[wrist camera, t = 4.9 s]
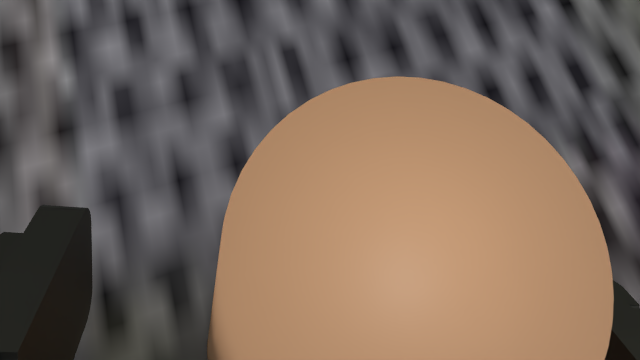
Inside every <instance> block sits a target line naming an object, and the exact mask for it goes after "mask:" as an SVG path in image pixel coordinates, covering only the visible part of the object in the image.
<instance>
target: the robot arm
mask: <svg viewBox="0 0 640 360" xmlns="http://www.w3.org/2000/svg"><path fill="white" fill-rule="evenodd" d="M613 293H614V303H613V323H612V329H611V335H610V341H609V347H608V350H607V354H606V357H605V360H640V308H639V304H638V303H637V302H636V301H635V300H634V299H633V298H632V297H631V295H630V294H629V293H628V292H627V291H626V290H625V289H624V288H623V287H622V286H621V285H619V284H618V283H616V282H615V281H613ZM91 297H92V240H91V215H90V211H89V209H88V208H78V207H64V206H50V205H41V206H40V207H39V209H38V210H37V212H36V213H35V215H34V217H33V218H32V220H31V222H30V223H29V225H28V226H27V228H26V230H25V231H24V233H11V232H3V233H2V234H0V360H73V359H74V356H75V353H76V351H77V348H78V345H79V342H80V339H81V336H82V333H83V331H84V328H85V325H86V322H87V319H88V315H89V310H90V304H91Z"/></svg>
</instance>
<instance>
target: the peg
mask: <svg viewBox="0 0 640 360" xmlns="http://www.w3.org/2000/svg"><path fill="white" fill-rule="evenodd" d="M613 303H614V293H613V280H612V269H611V264H610V259H609V254H608V249H607V245H606V241H605V238H604V235H603V232H602V229H601V226H600V222H599V220H598V218H597V216H596V213H595V211H594V209H593V206H592V204H591V202H590V200H589V198H588V196H587V194H586V193H585V191H584V189H583V187H582V186H581V184H580V182H579V180H578V179H577V177H576V176H575V174H574V173H573V172H572V170H571V169H570V168H569V166H568V165H567V163H566V162H565V161H564V159H563V158H562V157H561V156H560V155H559V153H558V152H557V151H556V150H555V149H554V148H553V147H552V146H551V145H550V144H549V142H548V141H547V140H546V139H545V138H544V137H542V136H541V135H540V134H539V133H538V132H537V131H536V130H535V129H534V128H532V127H531V126H530V125H529V124H528V123H527V122H525V121H524V120H522V119H521V118H520V117H518V116H517V115H515V114H514V113H513V112H511V111H510V110H508V109H507V108H505V107H503V106H501V105H500V104H498V103H496V102H494V101H492V100H491V99H489V98H487V97H485V96H482V95H480V94H478V93H475V92H473V91H471V90H468V89H466V88H463V87H459V86H456V85H452V84H449V83H446V82H442V81H436V80H430V79H424V78H414V77H385V78H373V79H368V80H363V81H358V82H353V83H349V84H346V85H344V86H341V87H338V88H335V89H332V90H329V91H327V92H325V93H323V94H321V95H319V96H317V97H315V98H313V99H311V100H309V101H307V102H306V103H304V104H303V105H302V106H300V107H299V108H297V109H296V110H294V111H293V112H291V113H290V114H288V115H287V116H286V117H285V118H284V119H283V120H282V121H281V122H280V123H278V124H277V125H276V126H275V127H274V128H273V129H272V130H271V131H270V132H269V133H268V134H267V136H266V137H265V138H264V139H263V140H262V142H261V143H260V144H259V145H258V146H257V148H256V149H255V150H254V152H253V154H252V155H251V157H250V158H249V160H248V162H247V163H246V165H245V166H244V168H243V170H242V171H241V174H240V176H239V178H238V180H237V183H236V185H235V187H234V189H233V192H232V194H231V197H230V201H229V204H228V207H227V211H226V214H225V218H224V223H223V230H222V236H221V243H220V250H219V258H218V266H217V274H216V281H215V289H214V297H213V304H212V312H211V320H210V327H209V335H208V343H207V357H208V360H605V357H606V354H607V350H608V347H609V341H610V335H611V329H612V323H613Z"/></svg>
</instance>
